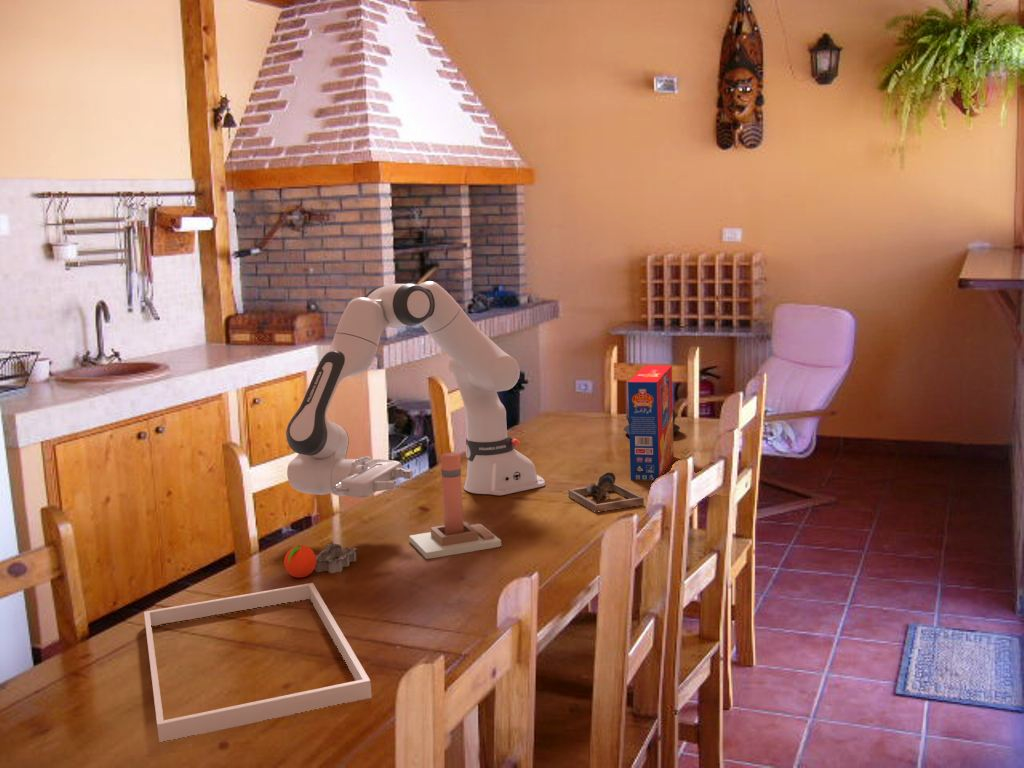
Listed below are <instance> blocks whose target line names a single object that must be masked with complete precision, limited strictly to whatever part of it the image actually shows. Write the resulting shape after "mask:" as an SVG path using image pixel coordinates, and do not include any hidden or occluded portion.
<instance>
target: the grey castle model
mask: <svg viewBox="0 0 1024 768" xmlns="http://www.w3.org/2000/svg"><path fill="white" fill-rule="evenodd" d="M357 550H358V547H356V548H355V547H354V546H352V548H351V547H349V546H346V549H343V548H342V545H341V544H339V543H334V540H332V541H330V542H328V544H325V546H324V549H323V550H321V551H320V552H319V553H318V554H317V555H315V556H316V560H317V561H316V566H315V570H314V571H315V572H316V571H317V572H316V573H321V572H325V571H326V572H328V573H329V574H335V573H341V572H342V571H343V568H347V567H349V566H350V563H352V562H353V563H354V562H356V561H357V553H356V551H357ZM320 571H321V572H320Z"/></svg>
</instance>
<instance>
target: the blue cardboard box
mask: <svg viewBox="0 0 1024 768" xmlns="http://www.w3.org/2000/svg"><path fill="white" fill-rule="evenodd" d="M627 392H628V393H627V394H628V395H627V396H628V410H629V423H628V425H629V435H628V436H629V461H630V463H629V467H630V468H629V469H630V471H629V472H630V481H635V480H649V481H648V482H655V481H654V480H655V479H656V478H658V477H660V476H661V475H662V474H663V475H664V474H665V472H666V471H667V469H668V467H669V466H668V465H670V464H671V462H672V460H673V459H674V457H675V455H674V450H675V449H674V432H673V409H674V407H673V367H672V365H643V367H641V368H640V370H639V371H638V372H637V373H635V374H634V375H633V376H632V378H631V379H629V380H628V382H627ZM666 468H667V469H666ZM665 470H666V471H665ZM664 471H665V472H664ZM663 472H664V473H663ZM653 478H654V479H653ZM652 479H653V480H652ZM651 480H652V481H651Z"/></svg>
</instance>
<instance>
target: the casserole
mask: <svg viewBox="0 0 1024 768" xmlns="http://www.w3.org/2000/svg"><path fill="white" fill-rule="evenodd" d="M677 417H678V414H677V413H676V412H675V408H673V433H677V432H678V431H679V430H680V429H681V427H680V426H679V425H678V424H677V423H675V421H676V418H677ZM625 418H626V419H627V421H628V424H627V425H625V426H624V427H623V431H624V432H626V433H627V434H628V436H629V409H628V411H627V414H626V415H625Z"/></svg>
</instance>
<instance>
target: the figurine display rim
mask: <svg viewBox="0 0 1024 768" xmlns="http://www.w3.org/2000/svg"><path fill="white" fill-rule="evenodd" d="M609 487H611V488H610V490H609V491H611V492H614V491H615V492H614V493H616V492H617V493H616V494H618V493H619V494H618V495H620V494H621V495H620V496H622V495H623V496H625V497H627V498H628V499H627V498H625V497H624V498H625V499H621V500H616V501H608V502H602V503H597V502H594V501H593V500H590V499H588V498H587V497H585V496H589V495H588V494H591V495H594V494H595V493H590V492H588V491H587V486H584V487H578V488H577V487H576V488H573V489H568V492H567V493H568V498H569V497H570V498H569V499H571V498H572V499H571V500H573V499H574V500H575V501H574V500H573V501H574V502H576V501H577V502H576V503H578V502H579V503H580V505H581V504H582V506H583V505H584V506H583V507H585V506H586V507H587V508H586V507H585V508H586V509H588V508H589V509H588V510H590V509H591V510H593V511H595V512H598V511H605V510H612V511H614V510H613V509H618V508H624V509H627V508H626V507H630V508H633V507H632V506H636V507H640V506H639V505H642V506H644V503H645V502H644V500H645V499H644V497H642V495H638V494H637V493H635V492H633V491H631V490H629V489H627V488H626V487H623V486H621V484H617V483H616V482H615V483H614V484H612V485H610V486H609ZM609 487H607V488H606V489H608V488H609ZM582 495H585V496H582ZM623 496H622V497H623ZM579 503H578V504H579ZM591 510H590V511H591ZM618 510H619V509H618ZM593 511H592V512H593ZM595 512H594V513H595ZM605 512H606V511H605Z"/></svg>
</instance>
